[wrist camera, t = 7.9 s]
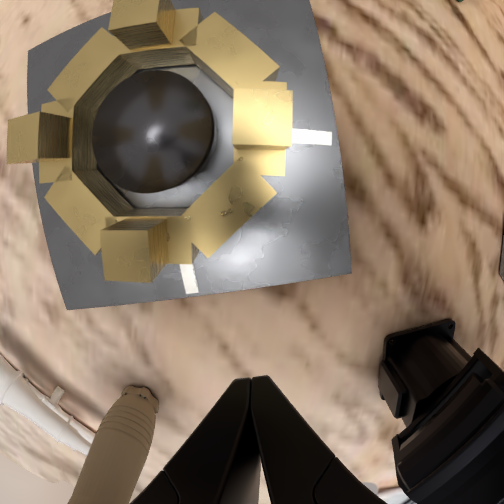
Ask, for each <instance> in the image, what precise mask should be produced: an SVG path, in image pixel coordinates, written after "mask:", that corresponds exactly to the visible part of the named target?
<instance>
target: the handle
mask: <svg viewBox="0 0 504 504" xmlns="http://www.w3.org/2000/svg"><path fill="white" fill-rule="evenodd" d="M158 407H159V402H158V400H157V399H155V398H154V397H153V396H152V394H151V393H150V390H148V389H147V388H145V387H142V388H137V387H133V386H128V387H126V388H125V389H124V391H123V392H122V396H121V397H120V398H119V399H118V400H117V401H116V402H115V403H114V404H113V406H112V407H111V408H110V410H109V411H108V413H107V414H106V416H105V417H104V419H103V421H102V422H101V424H100V426H99V428H98V430H97V432H96V434H95V437H94V439H93V442H92V444H91V447H90V450H89V452H88V455H87V458H86V460H85V463H84V466H83V468H82V471H81V473H80V476H79V478H78V481H77V484H76V486H75V489H74V492H73V494H72V497H71V499H70V500H69V502H68V504H129V501H130V499H131V496H132V493H133V491H134V488H135V486H136V483H137V481H138V478H139V476H140V473H141V471H142V469H143V466H144V464H145V461H146V459H147V456H148V453H149V450H150V446H151V443H152V438H153V434H154V428H155V419H156V415H155V413H158Z"/></svg>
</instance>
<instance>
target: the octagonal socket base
mask: <svg viewBox="0 0 504 504" xmlns="http://www.w3.org/2000/svg"><path fill="white" fill-rule="evenodd" d="M108 31H109V32H110V33H112V34H113V36H112V35H111V34H110V33H108V32H107V31H106V30H105V29H104V28H102V27H101V28H100V29H99V30H98V31H97V32H96V33H95V35H94V36H93V37H92V38H91V39H90V40H89V41H88V42H87V43H86V44H85V45H84V46H83V47H82V48H81V49H80V51H79V52H78V53H77V54H76V55H75V56H74V57H73V59H72V60H71V61H70V62H69V63H68V64H67V66H66V67H65V68H64V69H63V70H62V72H61V73H60V74H59V75H58V77H57V78H56V79H55V80H54V82H53V83H52V84H51V86H50V87H49V88H48V91H49V92H50V93H51V95H52V96H53V97H54V98H55V99H56V100H57V101H53V102H49V103H45V104H42V106H41V112H40V111H39V112H36V113H32V114H28V115H24V116H21V117H17V118H14V119H10V120H8V133H7V164H18V163H36V162H39V184H40V183H50V182H54V183H53V185H52V186H51V188H50V189H49V191H48V192H47V194H46V195H45V197H44V198H45V199H46V200H47V202H48V203H49V204H50V205H51V206H52V208H53V209H54V210H55V211H56V212H57V214H58V215H59V216H60V217H61V218H62V219H63V221H64V222H65V223H66V224H67V225H68V226H69V227H70V229H71V230H72V231H73V232H74V233H75V234H76V235H77V236H78V237H79V239H80V240H81V241H82V242H83V243H84V244H85V245H86V246H87V247H88V248H89V250H90V251H91V252H92V253H93V254H94V255H96V254H98V253H100V252H101V251H102V261H103V270H104V278H105V281H122V282H142V283H152V282H153V280H154V279H155V278H156V277H157V275H158V274H159V273H160V272H161V271H162V269H163V268H164V267H165V266H166V264H193V262H194V260H195V258H196V257H197V255H198V253H199V252H200V251H201V252H202V253H203V254H204V255H205V256H206V257H207V258H209V257H210V256H211V255H212V254H213V253H214V252H215V251H216V250H217V249H218V248H219V247H220V246H221V245H222V244H224V243H225V242H226V241H227V240H228V239H229V238H230V237H231V236H232V235H233V234H234V233H235V232H236V231H237V230H238V229H239V228H240V227H241V226H242V225H243V224H245V223H246V222H247V221H248V220H249V219H250V218H251V217H252V216H253V215H254V214H255V213H256V212H257V211H258V210H259V209H260V208H262V207H263V206H264V205H265V204H266V203H267V202H268V201H269V200H270V199H271V198H272V197H273V196H274V195H275V194H277V192H276V191H275V190H274V189H273V188H272V187H271V186H270V185H269V184H268V183H267V182H266V181H265V180H264V179H263V177H262V176H261V175H272V176H285V154H286V149H287V148H289V147H291V146H292V110H293V90H287V82H275V81H276V78H277V75H278V71H279V68H280V66H279V65H278V64H276V63H275V62H274V61H273V60H272V59H271V58H270V57H269V56H268V55H267V54H265V53H264V52H263V51H262V50H261V49H260V48H259V47H258V46H256V45H255V44H254V43H253V42H252V41H251V40H249V39H248V38H247V37H246V36H245V35H243V34H242V33H241V32H240V31H239V30H237V29H236V28H235V27H234V26H232V25H231V24H230V23H229V22H227V21H226V20H225V19H224V18H222V17H221V16H220V15H218V14H217V13H216V12H214V13H212V14H211V15H210V16H208V17H207V18H206V19H205V20H203V17H202V14H201V11H200V9H199V8H187V9H177V10H175V8H174V6H173V4H172V2H171V0H114V2H113V7H112V12H111V17H110V22H109V28H108ZM190 64H196V65H197V66H198V67H199V68H200V69H201V70H203V71H204V72H205V73H206V74H207V75H208V76H209V77H210V78H211V79H213V80H214V81H215V82H216V83H217V84H218V85H219V86H220V87H221V88H222V89H223V90H225V91H226V92H227V93H228V94H229V95H230V96H231V97H232V98H233V134H232V145H233V146H234V161H233V165H231V166H230V167H229V168H228V169H227V170H226V171H225V172H224V173H223V174H222V175H221V176H220V177H219V178H218V179H217V180H216V181H215V182H214V183H213V184H212V185H211V186H210V187H209V188H208V189H207V190H206V191H205V192H204V193H203V194H202V195H201V196H200V197H199V198H198V199H197V200H196V201H195V202H194V203H193V204H192V205H191V206H190V207H189V208H159V209H134V208H133V207H132V206H131V205H130V204H129V203H128V202H127V201H126V200H125V199H124V198H123V197H122V196H121V195H120V194H119V193H118V192H117V191H116V190H115V188H114V187H113V186H112V185H111V184H110V183H109V182H108V181H107V180H106V179H105V178H104V177H103V176H102V175H101V173H100V172H99V171H98V170H97V161H96V158H95V155H94V152H93V147H92V129H93V123H94V120H95V116H96V114H97V111H98V109H99V107H100V105H101V103H102V102H103V100H104V99H105V97H106V96H107V95H108V94H109V92H110V91H111V90H112V89H113V88H114V87H116V86H117V85H118V84H119V83H121V82H122V81H124V80H125V79H127V78H129V77H131V76H132V75H133V74H134V73H135V72H136V71H137V70H138V69H146V68H155V67H165V66H176V65H190Z"/></svg>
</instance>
